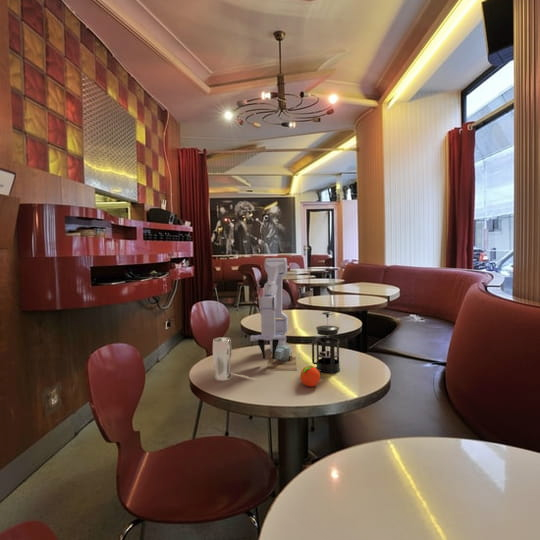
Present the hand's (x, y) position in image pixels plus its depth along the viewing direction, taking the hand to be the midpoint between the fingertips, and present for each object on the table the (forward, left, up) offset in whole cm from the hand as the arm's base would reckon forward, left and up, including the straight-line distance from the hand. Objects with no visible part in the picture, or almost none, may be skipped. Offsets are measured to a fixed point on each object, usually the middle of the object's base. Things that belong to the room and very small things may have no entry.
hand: (268, 358), depth 149 cm
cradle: (-2, +5, -4) cm, 7 cm away
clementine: (+21, +15, -4) cm, 26 cm away
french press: (+4, +23, -4) cm, 24 cm away
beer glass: (+13, -17, -4) cm, 22 cm away
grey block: (-5, +5, -3) cm, 7 cm away
